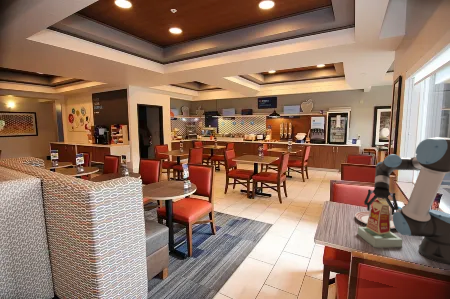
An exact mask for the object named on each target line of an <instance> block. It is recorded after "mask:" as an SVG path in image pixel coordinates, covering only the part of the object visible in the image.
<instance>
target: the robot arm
mask: <svg viewBox="0 0 450 299" xmlns="http://www.w3.org/2000/svg"><path fill="white" fill-rule="evenodd" d="M394 171H418V174H417V178H416V180H415V182H414V186H413V188H412V190H411V193H410V197H409V198H408V202H407V204H406V205H403V206H402V207H401V208H402V209H401V212H396V210H398V207H399V204H398V202H397V199H396V193H395V192H390V180H391V179H390V176H391V173H393V172H394ZM449 173H450V137H439V136H438V137H428V138H426V139H423V140H421V141H420V142H419V144H418V145H417V146H416V149H415V156H413V157H401V156H400V155H397V154H394V153H391V154H388V156H386V157H385V158H384V160H383V161H379V162H377V163H376V165H375V177H374V189H372V190H371V189H368V192H367V195H366V197H365V200H364V201H363V202H364V203H363V204H364V206H367V207H366V210H367V211H369V217H370V216H371V209H372V205H373V203H374V201H375V200H377V198H380V199H386V202H387V204H388V205H389V212H390V221H391V220H392V216H393V223H394V226H395V228H394V229H396V231H397V233H399V234H400V235H401V236H406V237H423V239H422V240H421V242H420V244H419V245H418V252H419V254H421V256H423V257H425V258H427V259H429V260H432V261H434V262H436V263H441V264H445V265H450V213H447V212H445V211H441V210H437V209H431V208H432V206H433V203H434V201H435V199H436V197H437V195H438V192H439V190H440V187H441V186H442V185H441V184H442V182H443V180H444V178H445V175H446V174H449ZM371 195H374V196H373V197H372V198H371V199H370V197H371ZM389 196H390V197H391V198H392V201H391V199H390V198H389ZM369 199H370V200H369ZM392 202H393V203H392Z"/></svg>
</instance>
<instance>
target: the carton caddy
mask: <svg viewBox="0 0 450 299" xmlns="http://www.w3.org/2000/svg"><path fill="white" fill-rule="evenodd" d="M357 235H358V236H359V237H360V238H361V239H363V240H364V241H366V243H368V244H369V245H370V246H372V247H373V248H374V249H375V248H376V249H377V248H378V249H380V248H381V249H383V248H386V249H387V248H403V242H404V241H403V239H402V238H401V237H399V235H397V234H395V233H393V232H392V231H390V233H387V234H381V235H379V234H377V233H375V232H373V231H371V230H370V229H368V228H366V226H357Z"/></svg>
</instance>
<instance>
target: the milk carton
mask: <svg viewBox="0 0 450 299" xmlns="http://www.w3.org/2000/svg"><path fill="white" fill-rule="evenodd" d="M365 227H366V228H368V229H370V230H371V231H373V232H375V233H377V234H379V235H381V234H387V233H390V232H391V229H390V206H389V205H388V203H387V201H386V199H382V198H377V199H376V200H375V201H374V202H373V203H372V205H371V216H370V217H369V218H368V222H367V224H366V226H365Z"/></svg>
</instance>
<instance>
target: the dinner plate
mask: <svg viewBox="0 0 450 299" xmlns="http://www.w3.org/2000/svg"><path fill="white" fill-rule="evenodd" d="M354 216H355V218H356V220H358V221H359V222H361V223H364V224H365V225H367V222H368V218H369V211H365V210H364V211H358V212H356V213H355V214H354ZM391 229H396V228H395V226H394V223H393V215H392V220H391V221H390V230H391Z"/></svg>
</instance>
